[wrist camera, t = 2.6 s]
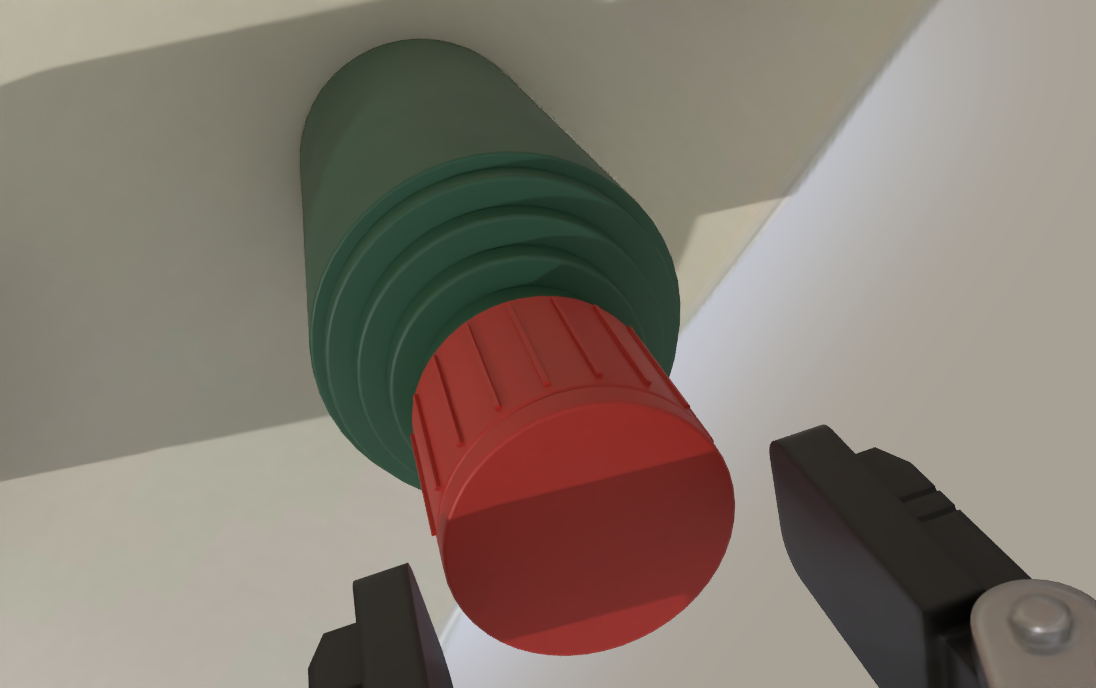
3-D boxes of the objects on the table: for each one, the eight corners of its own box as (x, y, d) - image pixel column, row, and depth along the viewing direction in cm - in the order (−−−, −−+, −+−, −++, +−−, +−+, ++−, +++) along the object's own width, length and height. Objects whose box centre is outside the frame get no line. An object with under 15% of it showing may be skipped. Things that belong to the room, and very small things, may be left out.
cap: (443, 269, 16) (485, 376, 13) (689, 318, 17) (784, 425, 14) (382, 498, 17) (404, 647, 14) (612, 527, 19) (682, 669, 15)
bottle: (327, 8, 29) (388, 218, 12) (567, 74, 31) (897, 325, 14) (278, 248, 31) (272, 696, 15) (503, 292, 34) (720, 723, 17)
